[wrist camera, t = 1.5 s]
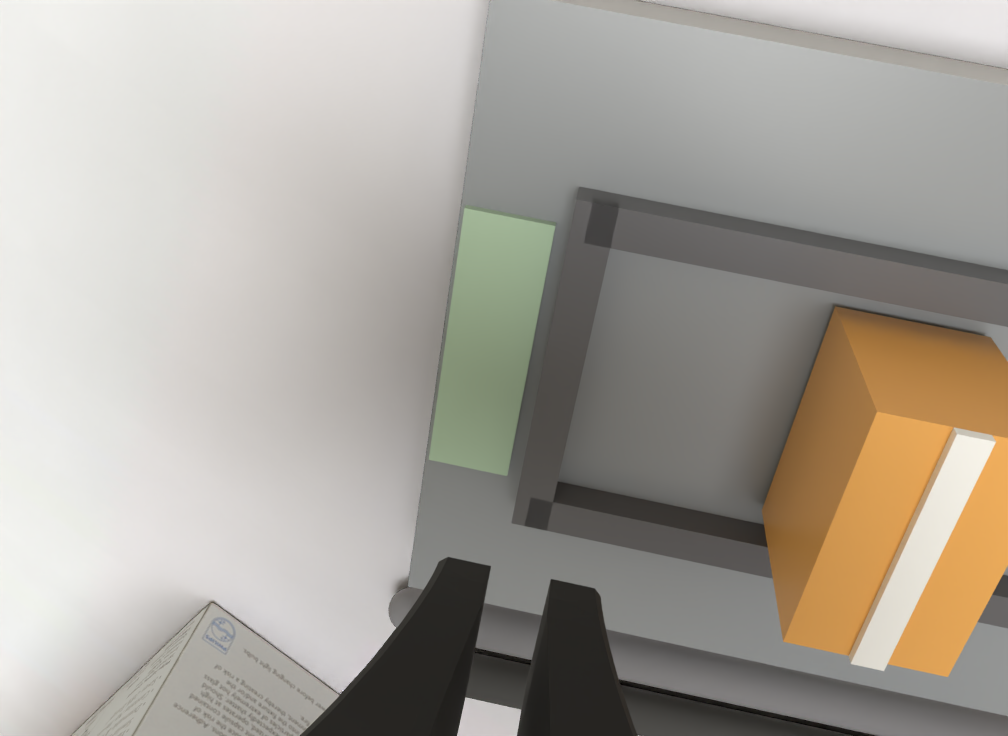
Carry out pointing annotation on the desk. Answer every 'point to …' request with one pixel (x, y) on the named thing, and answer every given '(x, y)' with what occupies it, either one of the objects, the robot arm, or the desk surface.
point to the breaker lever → (892, 494)
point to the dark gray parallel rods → (712, 688)
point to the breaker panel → (691, 304)
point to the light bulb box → (214, 688)
